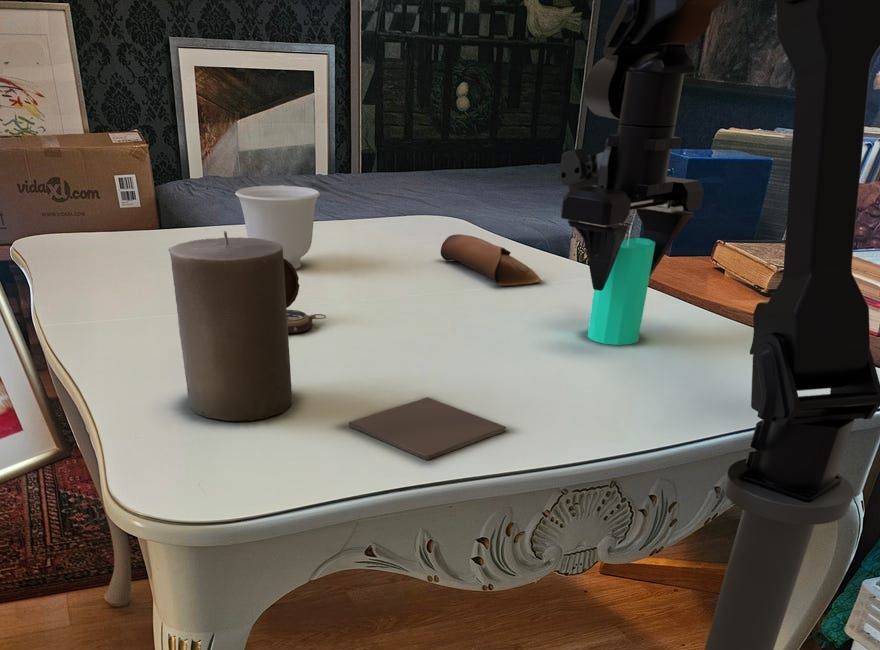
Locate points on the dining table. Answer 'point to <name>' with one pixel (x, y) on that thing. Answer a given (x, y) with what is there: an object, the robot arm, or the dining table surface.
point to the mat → (427, 427)
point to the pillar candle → (233, 326)
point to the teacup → (280, 217)
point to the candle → (623, 295)
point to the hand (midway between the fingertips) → (621, 283)
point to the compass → (295, 318)
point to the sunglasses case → (488, 260)
